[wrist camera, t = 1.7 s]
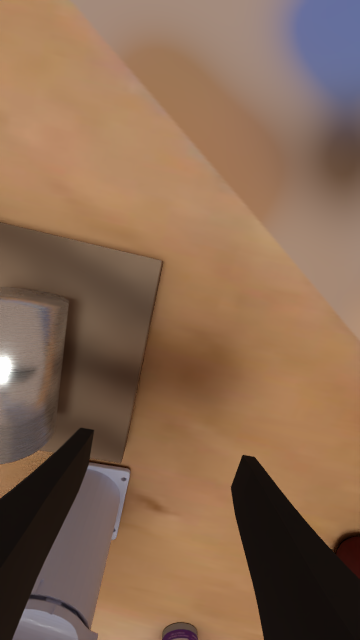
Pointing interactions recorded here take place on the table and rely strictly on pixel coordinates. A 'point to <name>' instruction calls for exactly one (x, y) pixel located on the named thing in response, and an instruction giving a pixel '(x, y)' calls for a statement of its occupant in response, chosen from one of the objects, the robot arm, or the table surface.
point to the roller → (29, 368)
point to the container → (180, 632)
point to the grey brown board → (90, 328)
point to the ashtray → (350, 554)
